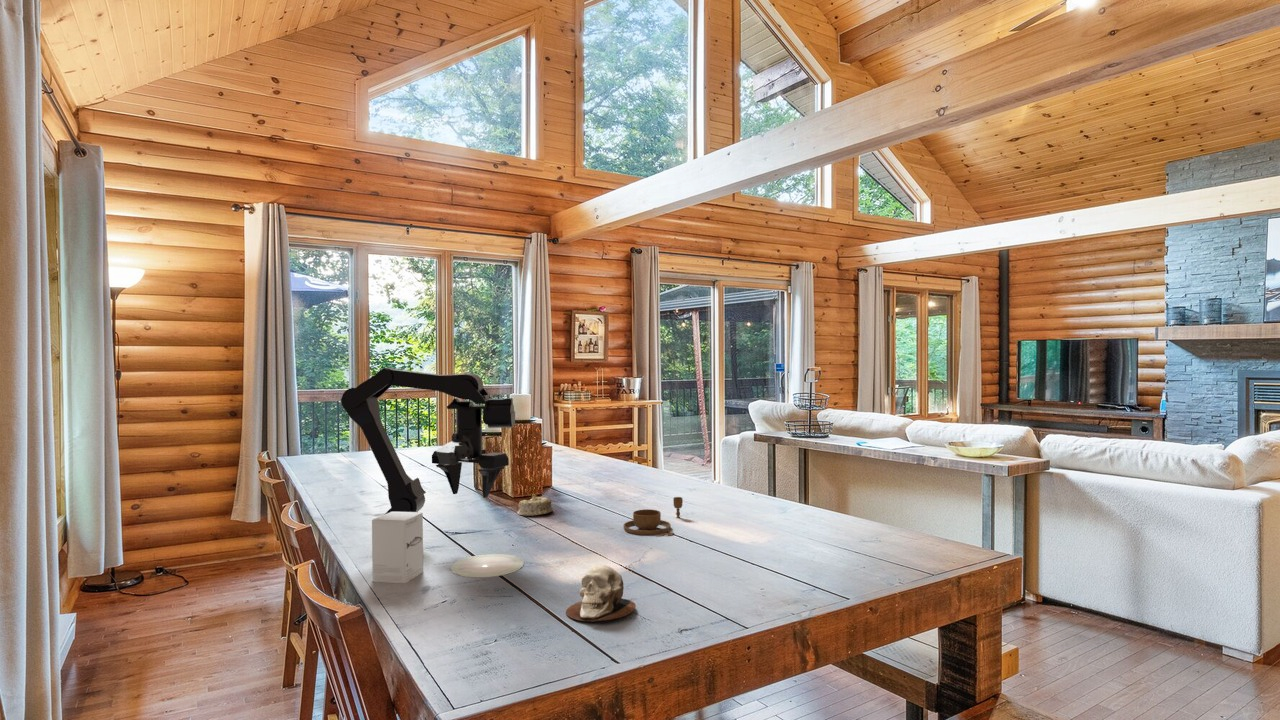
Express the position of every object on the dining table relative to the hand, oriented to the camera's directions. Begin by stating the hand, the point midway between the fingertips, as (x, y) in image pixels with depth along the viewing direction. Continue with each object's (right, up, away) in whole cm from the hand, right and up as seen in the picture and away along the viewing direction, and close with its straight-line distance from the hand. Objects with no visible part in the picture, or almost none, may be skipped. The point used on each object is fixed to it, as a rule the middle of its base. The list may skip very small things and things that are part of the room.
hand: (470, 495), depth 162 cm
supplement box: (-9, -13, -21) cm, 26 cm away
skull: (+36, -14, -42) cm, 57 cm away
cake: (+10, -12, +35) cm, 38 cm away
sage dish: (+7, -12, -14) cm, 20 cm away
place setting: (+44, -12, +17) cm, 49 cm away
